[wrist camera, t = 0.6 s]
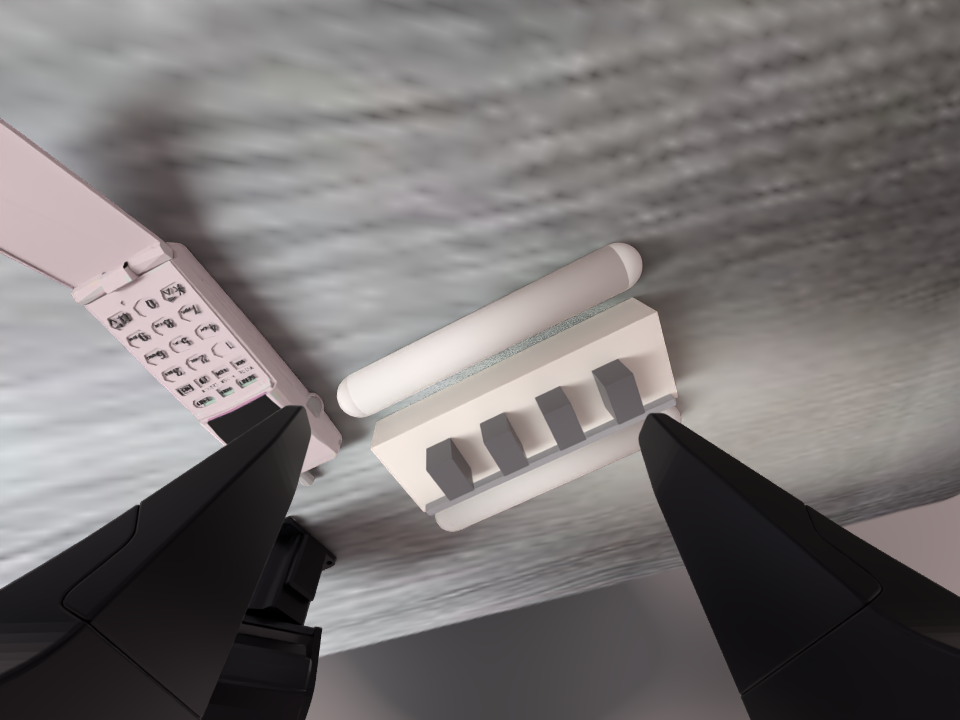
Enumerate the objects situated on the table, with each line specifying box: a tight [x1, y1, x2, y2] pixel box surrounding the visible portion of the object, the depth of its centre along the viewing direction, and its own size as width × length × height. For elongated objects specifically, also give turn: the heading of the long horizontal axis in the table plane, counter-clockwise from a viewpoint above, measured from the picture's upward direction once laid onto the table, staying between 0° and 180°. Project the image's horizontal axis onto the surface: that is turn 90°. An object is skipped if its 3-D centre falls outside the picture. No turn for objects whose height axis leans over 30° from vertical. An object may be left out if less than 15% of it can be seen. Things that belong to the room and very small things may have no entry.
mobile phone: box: [0, 118, 342, 487], centre depth 20 cm, size 6×6×25 cm
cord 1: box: [435, 406, 681, 532], centre depth 29 cm, size 21×3×3 cm, turn 116°
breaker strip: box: [370, 297, 678, 516], centre depth 25 cm, size 20×7×5 cm, turn 116°
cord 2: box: [337, 243, 642, 417], centre depth 23 cm, size 21×3×3 cm, turn 116°
